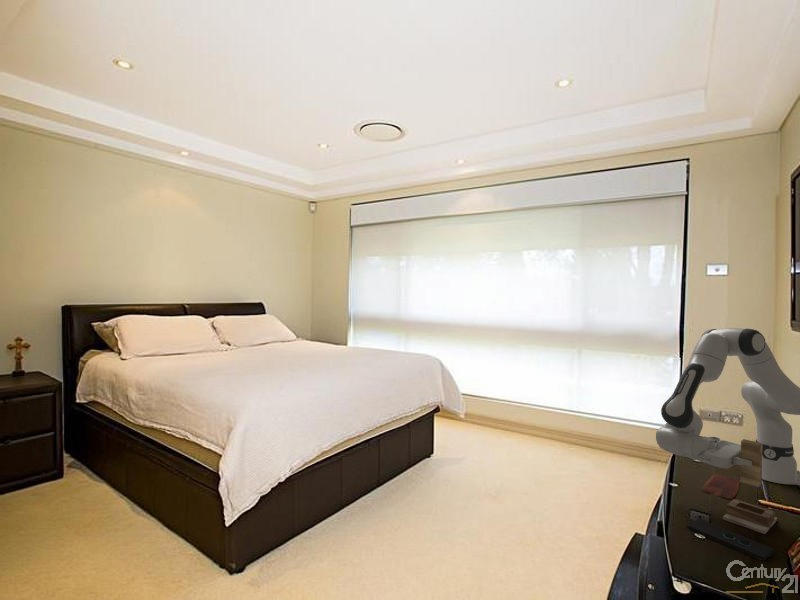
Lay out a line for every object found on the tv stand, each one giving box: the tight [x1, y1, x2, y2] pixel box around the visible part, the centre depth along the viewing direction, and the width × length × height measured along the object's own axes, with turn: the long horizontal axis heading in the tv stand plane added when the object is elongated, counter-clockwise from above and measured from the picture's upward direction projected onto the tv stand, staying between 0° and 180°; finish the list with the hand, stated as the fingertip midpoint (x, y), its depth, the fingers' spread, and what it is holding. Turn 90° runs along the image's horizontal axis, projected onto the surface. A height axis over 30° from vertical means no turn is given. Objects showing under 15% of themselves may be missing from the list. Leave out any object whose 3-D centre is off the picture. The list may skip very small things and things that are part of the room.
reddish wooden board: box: [701, 473, 741, 501], centre depth 172 cm, size 27×10×2 cm, turn 135°
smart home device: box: [687, 518, 775, 561], centre depth 133 cm, size 8×2×20 cm
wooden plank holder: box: [722, 498, 778, 535], centre depth 145 cm, size 14×11×4 cm
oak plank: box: [739, 438, 763, 488], centre depth 145 cm, size 3×5×14 cm, turn 37°
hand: (754, 462), depth 144 cm, fingers closed on oak plank, 3 cm apart
